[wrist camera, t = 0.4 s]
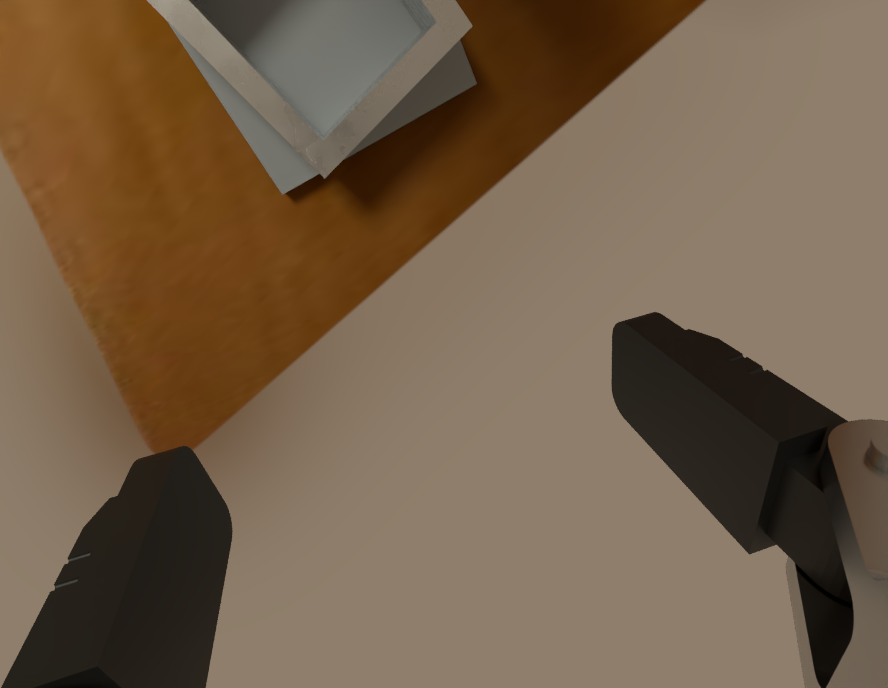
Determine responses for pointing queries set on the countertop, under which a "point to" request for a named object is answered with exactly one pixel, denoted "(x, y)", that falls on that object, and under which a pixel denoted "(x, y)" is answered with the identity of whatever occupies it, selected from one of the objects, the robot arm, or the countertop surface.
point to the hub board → (322, 68)
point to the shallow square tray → (440, 32)
